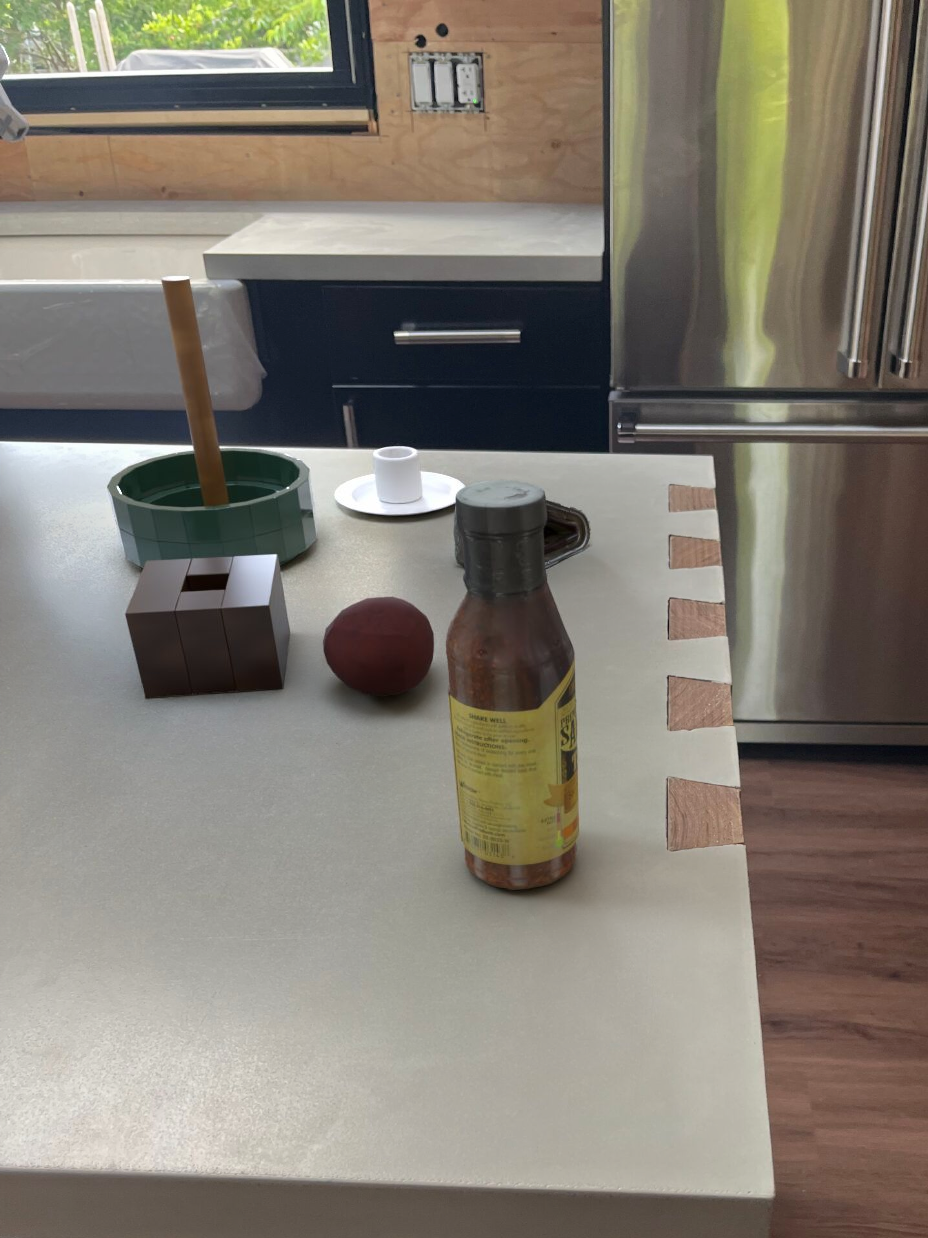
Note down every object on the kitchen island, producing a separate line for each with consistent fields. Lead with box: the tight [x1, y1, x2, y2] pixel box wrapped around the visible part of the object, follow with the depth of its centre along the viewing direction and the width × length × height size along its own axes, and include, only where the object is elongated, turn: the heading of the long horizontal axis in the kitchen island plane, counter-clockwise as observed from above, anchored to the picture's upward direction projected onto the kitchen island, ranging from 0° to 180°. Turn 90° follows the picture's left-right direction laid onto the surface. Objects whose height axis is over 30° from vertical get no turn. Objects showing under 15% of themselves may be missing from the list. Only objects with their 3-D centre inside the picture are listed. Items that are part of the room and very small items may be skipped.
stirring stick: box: [160, 275, 229, 507], centre depth 93 cm, size 2×2×20 cm
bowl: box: [106, 447, 318, 569], centre depth 97 cm, size 16×16×6 cm
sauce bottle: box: [445, 479, 580, 891], centre depth 58 cm, size 6×6×20 cm
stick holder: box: [124, 554, 291, 699], centre depth 80 cm, size 9×9×6 cm
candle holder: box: [334, 445, 466, 516], centre depth 108 cm, size 12×12×4 cm
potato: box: [322, 596, 435, 697], centre depth 77 cm, size 7×8×6 cm
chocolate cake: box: [453, 499, 592, 569], centre depth 97 cm, size 10×7×12 cm
